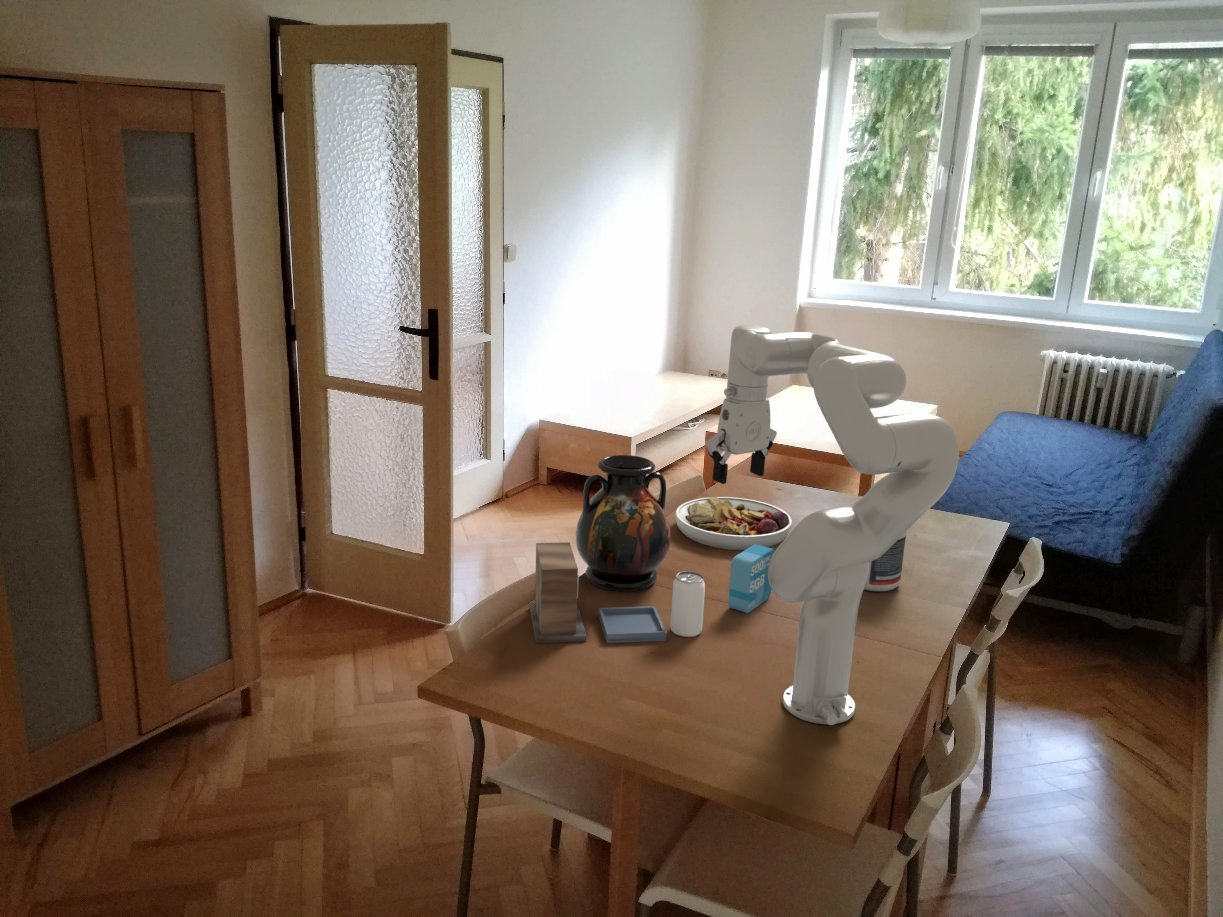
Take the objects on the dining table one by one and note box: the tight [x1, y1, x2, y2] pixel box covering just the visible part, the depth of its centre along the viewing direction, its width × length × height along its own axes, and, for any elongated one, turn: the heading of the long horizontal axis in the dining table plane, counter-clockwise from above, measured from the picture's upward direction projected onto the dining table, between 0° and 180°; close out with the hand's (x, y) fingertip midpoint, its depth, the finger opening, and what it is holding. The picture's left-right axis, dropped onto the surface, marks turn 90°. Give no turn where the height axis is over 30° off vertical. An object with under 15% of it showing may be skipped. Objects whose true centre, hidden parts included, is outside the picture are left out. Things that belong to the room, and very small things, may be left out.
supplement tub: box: [863, 530, 908, 592], centre depth 227 cm, size 13×13×18 cm
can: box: [670, 570, 706, 638], centre depth 200 cm, size 6×6×12 cm
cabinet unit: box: [529, 541, 587, 644], centre depth 201 cm, size 16×10×15 cm, turn 9°
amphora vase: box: [575, 454, 672, 592], centre depth 222 cm, size 22×22×28 cm
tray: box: [598, 605, 668, 644], centre depth 202 cm, size 12×12×2 cm
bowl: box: [675, 496, 792, 551], centre depth 257 cm, size 30×30×8 cm
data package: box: [727, 544, 775, 614], centre depth 214 cm, size 12×4×12 cm, turn 145°
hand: (738, 477), depth 190 cm, fingers open, 9 cm apart
